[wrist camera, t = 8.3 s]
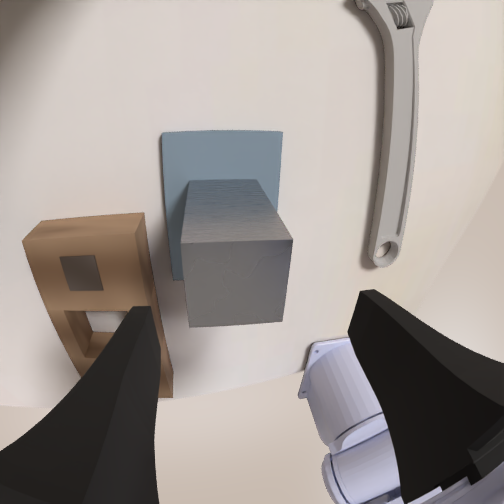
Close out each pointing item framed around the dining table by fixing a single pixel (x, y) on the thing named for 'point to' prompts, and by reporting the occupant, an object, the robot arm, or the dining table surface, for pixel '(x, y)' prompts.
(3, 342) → the dining table surface
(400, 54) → the adjustable wrench
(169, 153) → the slate mat
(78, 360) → the brown flat rectangular block
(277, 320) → the steel peg
